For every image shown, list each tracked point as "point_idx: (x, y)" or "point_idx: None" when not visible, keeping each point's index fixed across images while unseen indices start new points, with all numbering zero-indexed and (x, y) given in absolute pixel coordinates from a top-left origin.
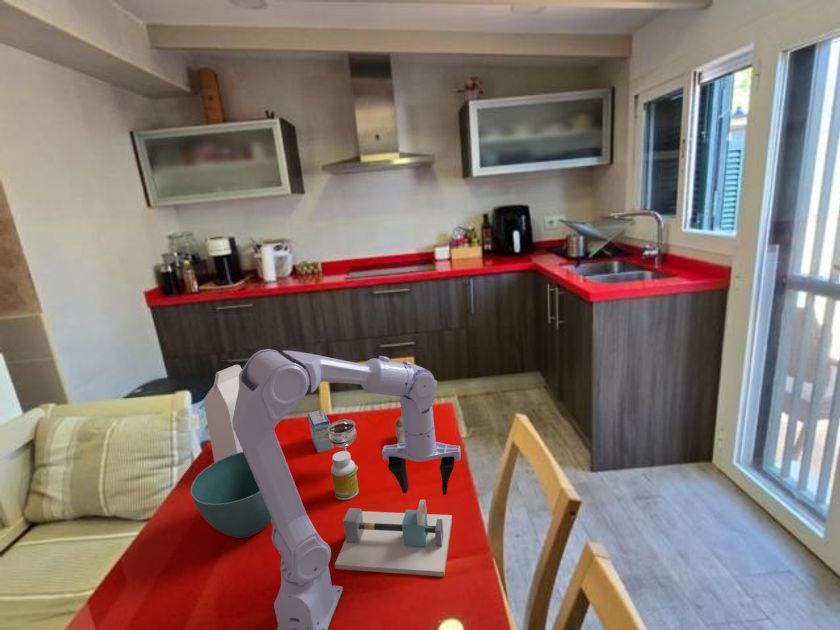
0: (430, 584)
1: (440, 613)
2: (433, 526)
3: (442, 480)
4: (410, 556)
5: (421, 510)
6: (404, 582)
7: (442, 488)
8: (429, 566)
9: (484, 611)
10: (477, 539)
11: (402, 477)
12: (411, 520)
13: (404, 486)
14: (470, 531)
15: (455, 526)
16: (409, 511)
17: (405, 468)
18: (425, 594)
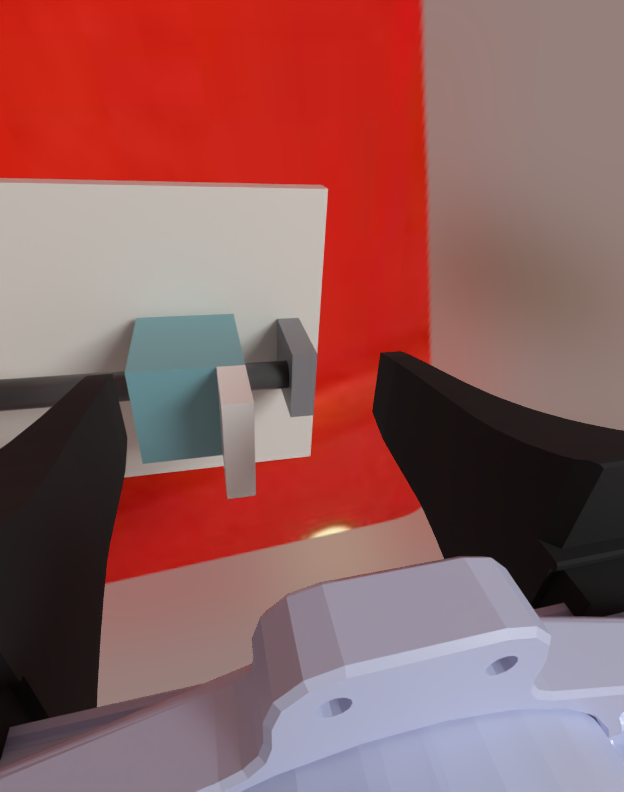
0: (270, 471)
1: (305, 524)
2: (276, 379)
3: (428, 513)
4: None
5: (247, 474)
6: (191, 480)
7: (393, 455)
8: (264, 449)
9: (402, 500)
10: (417, 295)
11: (103, 590)
12: (183, 436)
13: (116, 498)
14: (396, 256)
15: (337, 231)
16: (150, 384)
17: (67, 483)
18: (261, 496)
